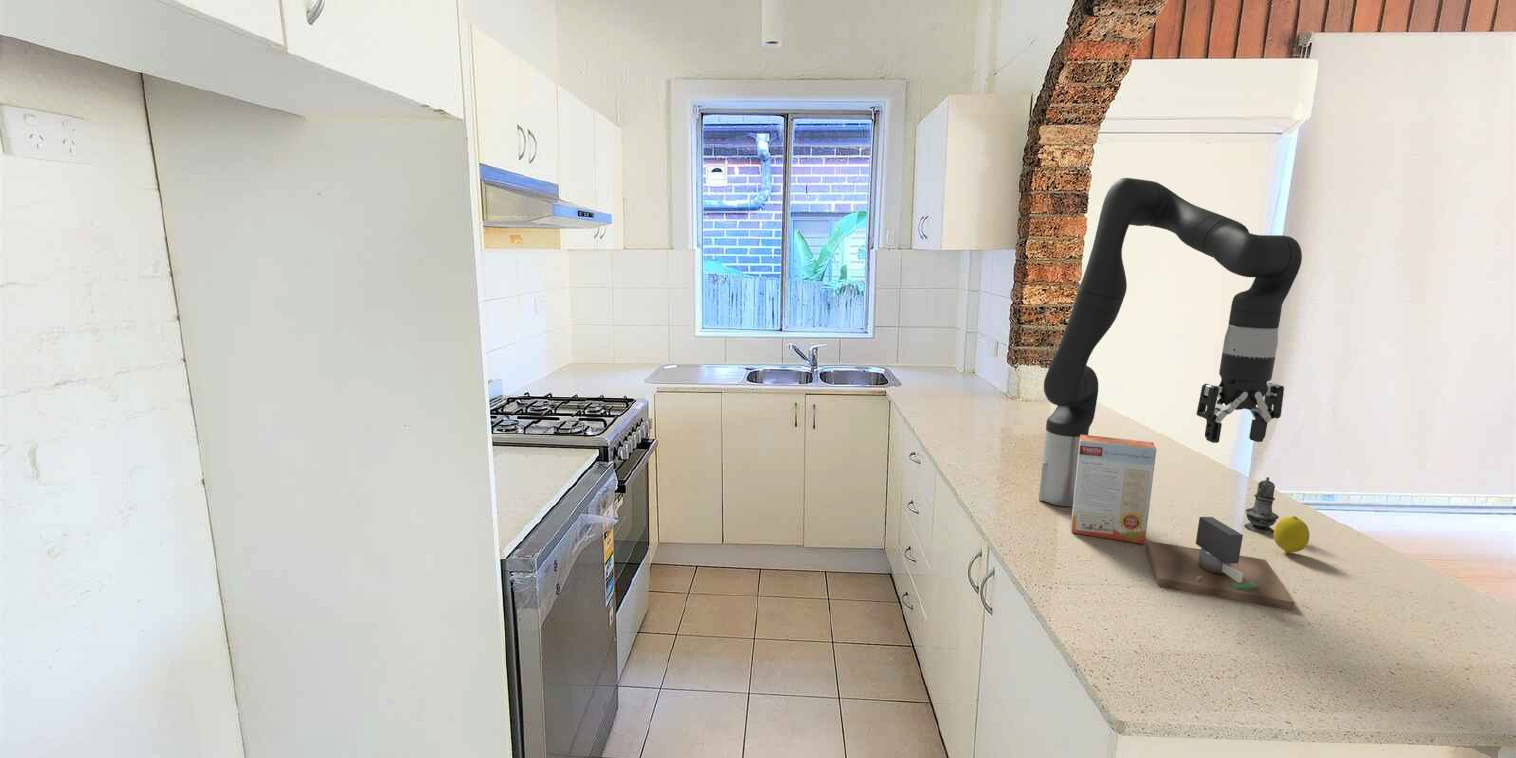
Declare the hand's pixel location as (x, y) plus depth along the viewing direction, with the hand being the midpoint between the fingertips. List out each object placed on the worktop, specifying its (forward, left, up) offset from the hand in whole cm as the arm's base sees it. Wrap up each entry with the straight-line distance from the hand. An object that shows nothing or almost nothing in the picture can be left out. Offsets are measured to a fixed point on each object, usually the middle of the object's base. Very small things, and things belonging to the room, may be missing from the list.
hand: (1234, 441), depth 118 cm
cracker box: (-17, +13, -27) cm, 34 cm away
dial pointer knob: (+1, -1, -24) cm, 25 cm away
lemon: (+16, +18, -27) cm, 36 cm away
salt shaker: (+14, +30, -27) cm, 42 cm away
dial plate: (0, 0, -26) cm, 26 cm away
